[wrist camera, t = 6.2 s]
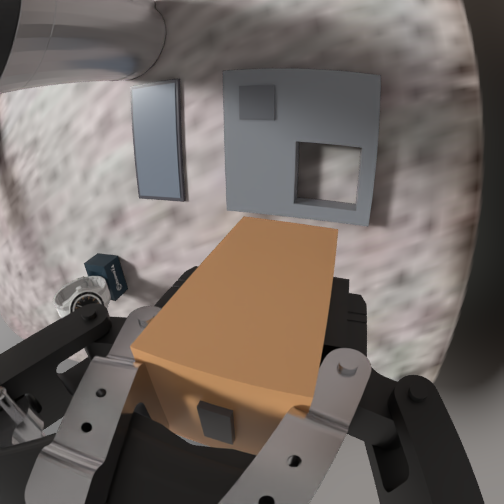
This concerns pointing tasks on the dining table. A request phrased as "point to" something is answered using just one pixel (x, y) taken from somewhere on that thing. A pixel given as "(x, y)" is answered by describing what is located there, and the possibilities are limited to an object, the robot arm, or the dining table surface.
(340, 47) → the dining table surface
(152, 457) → the robot arm
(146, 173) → the phone
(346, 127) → the outlet plate
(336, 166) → the dining table surface
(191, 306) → the block
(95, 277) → the watch
